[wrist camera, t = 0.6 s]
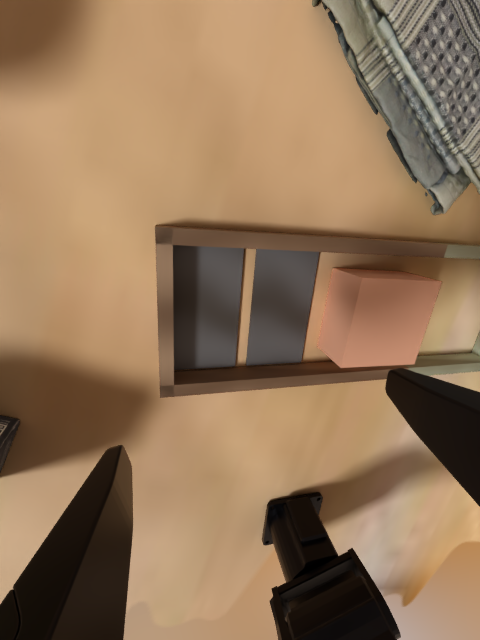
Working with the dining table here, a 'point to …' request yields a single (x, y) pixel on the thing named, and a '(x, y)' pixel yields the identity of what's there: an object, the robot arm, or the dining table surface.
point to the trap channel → (262, 309)
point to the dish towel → (420, 83)
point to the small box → (6, 436)
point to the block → (376, 317)
